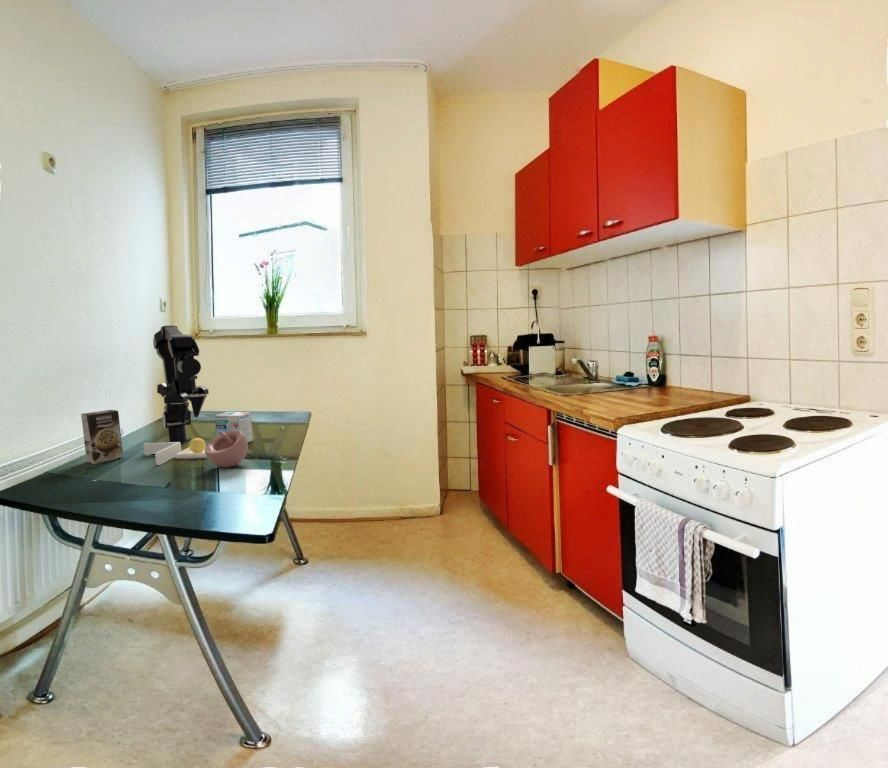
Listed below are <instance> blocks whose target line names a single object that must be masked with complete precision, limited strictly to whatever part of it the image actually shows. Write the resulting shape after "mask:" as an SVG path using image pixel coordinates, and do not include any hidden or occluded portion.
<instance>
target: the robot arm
mask: <svg viewBox="0 0 888 768" xmlns="http://www.w3.org/2000/svg"><path fill="white" fill-rule="evenodd" d="M152 342H153V343H152V344H153V348H154V350H155V352H156V355H157V356H158V357H159V359H161V360H162V365H163V366H162V367H163V372H164V381H165V382H162V383H160V384H159V383H158V384H157V385H156V386H157V387H156V390H157V391H156V393H157V394H159V395H160V396H161V398H163V403H164V407H163V410H164V411H163V412H162V419H161V420H162V426H163V428H164V429H167V431H168V438H169V439H168V441H167V442H180V443H181V444H183V443H186V442H189V441H191V440H192V438H191V437H187V428H186V426H189V425H191V424H192V418H191V417H192V412H193V417H195V418H198V417H199V415H200V413H201V410H202V408H203V406H204V404H205V400H206V398H207V397H208V395H209V393H210V392H209V388H208V387H207V385H202V386H201V385H200V386H198V385H197V384H196V380H198V374H199V373H200V372H201V369H202V365H201V363H200V361H199V360H198V359H196V358H195V357H199V355H200V348H199V345H198V343H197V341H196V339H195V338H193V336H192V335H191V334H183V333H182V332H181V331H180V330H179V328H178V326H177V325H162V326H160V330H159V331H157V332H155V333H154V335H153V340H152ZM196 385H197V386H196ZM190 403H191V404H190ZM190 405H191V408H192V412H191V411H190V409H189V406H190Z"/></svg>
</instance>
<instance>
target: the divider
mask: <svg viewBox="0 0 888 768" xmlns="http://www.w3.org/2000/svg"><path fill="white" fill-rule="evenodd" d="M142 445H143V452H144V455H145V454H155V455H154V456H155V465H159V466H161V465H163V464H164V463H166V462H169V461H171V460H173V459H174V458H175V454H177V453H179V452H181V451H182V443H180V442H168V441H166V442H145V443H143V444H142ZM172 458H173V459H172ZM170 459H171V460H170ZM168 460H169V461H168Z"/></svg>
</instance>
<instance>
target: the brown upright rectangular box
mask: <svg viewBox="0 0 888 768" xmlns="http://www.w3.org/2000/svg"><path fill="white" fill-rule="evenodd" d="M80 416H81V424H82V433H83V441H84V442H83V443H84V450H85V459H86V462H87V463H90V464H93V465H96V464H100V463H105V461H106V462H109V461H113V460H114V459H115V460H118V458H120V459H122V458H121V457H124V451H123V450H124V449H123V442H122V432H121V424H120V415H119V410H115V409H107V410H101V411H100V410H99V411H93V412H86V413H81V414H80Z"/></svg>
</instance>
